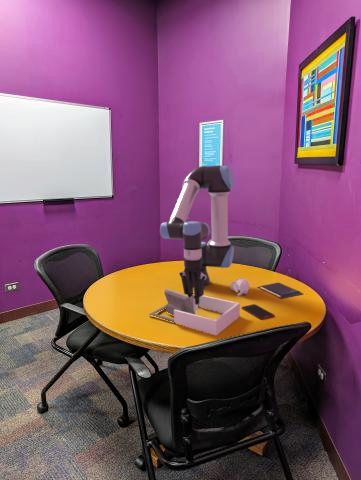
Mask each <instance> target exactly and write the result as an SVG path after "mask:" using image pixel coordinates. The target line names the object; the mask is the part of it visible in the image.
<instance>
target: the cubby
mask: <svg viewBox="0 0 361 480" xmlns="http://www.w3.org/2000/svg"><path fill="white" fill-rule="evenodd" d="M240 306H241V305H240V302H236V301H230V300H227V299H221V298H217V297H213V296H207V295H204V294H203V296H201V297H199V307H202V308H201V309H203V308H206V309H205V310H207V309H210V310H209V311H211V310H213V312H216V311H217V312H216V313H220V314H221V315H219V316H218V317H216V318H215V319H214V318H210V317H205V316H202V315H200V314H199V315H198V314H196V313H195V314H191V313H187V312H183V311H179V310H174V317H173V319H174V322H175V323H178V324H181V325H184V326H187V327H190V328H189V329H191V328H193V329H192V330H194V329H196V330H195V331H198V330H199V331H198V332H201V331H203V332H202V333H205V334H208V333H209V335H213V336H218V335H219V334H220V333H221V332H222V331H224V329H227V327H229V326H230V325H231V324H233V322H234V321H236V320H237V319H238V318H239V317H240V316H241V315H240V314H241V313H240V309H241V307H240ZM199 307H198V308H199ZM184 326H183V327H184ZM187 327H186V328H187Z"/></svg>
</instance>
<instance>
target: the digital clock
mask: <svg viewBox="0 0 361 480" xmlns="http://www.w3.org/2000/svg"><path fill="white" fill-rule="evenodd" d="M163 293H164V296H165V300H166V301H167V303H166V304H165V305H166V310H165V312H166V313H167V312H168V313H170V314H172V315H174V310H179V311H183V312H187V313H191V314H195V315H196V312H194V309H193V305H192V302H191V299H190V297H188V295H187V294H183V293H180V292H178V291H174V290H171V289H168V288H165V289H164V292H163Z"/></svg>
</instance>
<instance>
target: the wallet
mask: <svg viewBox="0 0 361 480" xmlns="http://www.w3.org/2000/svg"><path fill="white" fill-rule="evenodd" d="M256 288H257V289H259V290H262V291H263V292H266V293H268V294H270V295H271V296H274V297H275V298H278V299H280V300H284V299H289V298H295V297H298V296H303V295H304V293H303V292H301V291H300V290H297V289H296V288H292V287H291V286H288V285H285V284H284V283H281V282H275V283H270V284H265V285H260V286H256Z"/></svg>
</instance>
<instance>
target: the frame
mask: <svg viewBox="0 0 361 480" xmlns="http://www.w3.org/2000/svg"><path fill="white" fill-rule="evenodd" d="M166 305H167V304H165V305H164V306H162V307H159V308H158V309H156V310H154V311H153V312H151V313H149V315H153V316H156V317H159V318H162V319H165V320H168V321H172V322H174V318H171V317H169V316H164V315H160V314H155V313H157V312H159V311H161V310H163V309H165V308H166ZM198 306H199V304H198ZM149 315H148V316H149Z"/></svg>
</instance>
